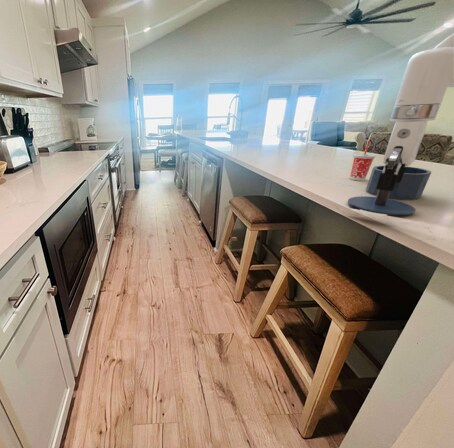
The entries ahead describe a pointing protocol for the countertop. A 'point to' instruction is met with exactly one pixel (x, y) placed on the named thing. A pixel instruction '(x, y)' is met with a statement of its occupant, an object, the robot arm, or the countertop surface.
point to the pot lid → (381, 204)
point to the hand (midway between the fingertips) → (388, 185)
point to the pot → (402, 183)
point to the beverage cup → (361, 165)
